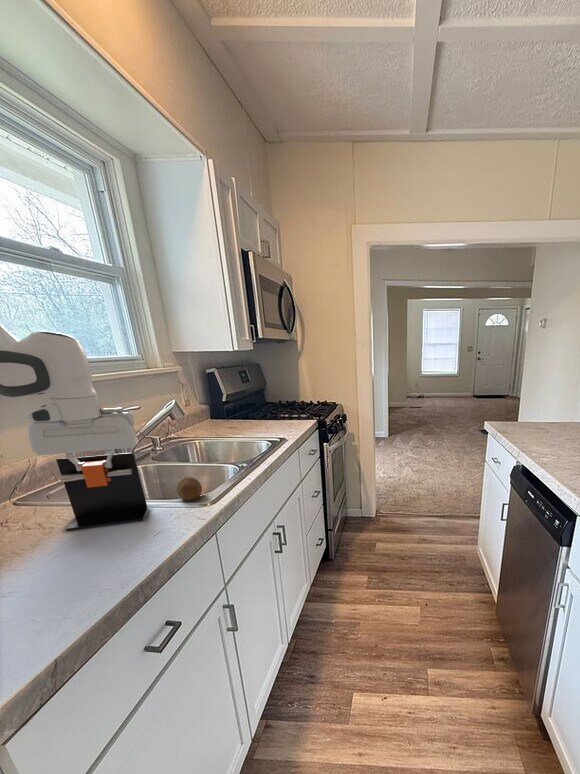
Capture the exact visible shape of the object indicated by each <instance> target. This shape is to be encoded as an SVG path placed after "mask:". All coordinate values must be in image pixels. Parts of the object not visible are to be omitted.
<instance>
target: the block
mask: <svg viewBox="0 0 580 774" xmlns="http://www.w3.org/2000/svg"><path fill="white" fill-rule="evenodd" d="M102 461H103V460H102ZM102 461H90V462H85V463H84V464H83V465H82V466H81V468H82V471H83V475H84V478H85V481H86V484H87V487H88V488H89V487H98V486H107V485H108V484H107V482H108V481H111V478H106V477H105V474H104V471H108V469H104V467H103V466H104V465H103V464H102Z"/></svg>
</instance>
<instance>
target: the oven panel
mask: <svg viewBox="0 0 580 774" xmlns="http://www.w3.org/2000/svg"><path fill="white" fill-rule="evenodd" d="M75 457H76V458H77V459H78V460H79V461H80V462H90V461H102V460H107V457H108V454H99V455H87V456H75ZM55 460H56V463H57V464H56V465H57V466H58V470H59V472H60V475H59V479H60V480H59V481H60V482H61V483H63V484H64V487H65V491H66V494H67V497H68V500H69V503H70V507H71V509H72V512H73V515H74V519H73V520H72V521H71V522H70V523H69V524H68V526H67V527H66V528H65V530H66V532H68V531H69V532H71V531H77V530H84V529H93V528H100V527H101V528H102V527H106V526H107V527H108V526H115V525H122V524H123V525H124V524H130V523H137V522H143V521H145V518H146V516H147V514H148V512H149V507H148V504H147V499H146V495H145V492H144V488H143V485H142V480H141V476H140V472H139V468H138V465H137V461H136V456H135V452H121V453H114V454H113V456H112V459H111V463H112V468H108V471H104V474H105V477H106V478H111V481H108V482H107V484H108V485H107V486H98V487H89V488H88V487H87V484H86V481H85V478H84V475H83V471H77V469H76V466H75V464H73V463H72V462H71V461H70V460H69V459H68V458H67V457H60V458H56V459H55Z"/></svg>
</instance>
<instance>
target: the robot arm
mask: <svg viewBox="0 0 580 774" xmlns="http://www.w3.org/2000/svg"><path fill="white" fill-rule="evenodd" d="M92 373H93V372H92V370H91V367H90V364H89V360H88V357H87V355H86V352H85V350H84V347H83V346H82V343H81V342H80V341H79V340H78V339H77V338H76V337H74V336H72V335H70V334H68V333H62V332H56V331H49V330H43V329H37V330H33V331H31V333H29V335H28V336H26V337H24V338H22V339H19V338H18V337H17V336H15V335H14V334H13V333H12V332H11V331H10V330H8V329H7V328H6V327H5V326H4V325H3V324H2V323H1V322H0V395H1V396H4V397H8V398H17V399H21V398H27V397H31V396H32V397H33V396H35V395H37V396H38V395H45V394H46V395H47V397H48V401H49V404H44V405H41V406H40V407H38V408H35V409H32V410H30V411H28V412H26V414H25V417H26V419H27V421H28V422H30V424H29V425H28V426H27V435H28V440H29V445H30V447H31V450H32V451H33V452H34V453H35V454H36V455H38V456H48V455H61V454H65V458H68V459H69V460H70V461H71V462H72V463H73V464H75V466H76V469H77V471H82V468H81V466H82V465H83V464H84V463H85V462H80V461H79V460H78V459H77V458H76V457H77V453H84V452H97V451H99V452H100V451H104V455H108V457H107V460H103V461H102V464H103V465H104V466H103V467H104V469H108V468H112V463H111V459H112V456H113V454H115V450H121V449H133V448H135V447H136V446H137V445H138V443H139V439H138V435H137V432H136V430H135V427H134V425H135V420H134V416H133V414H132V412H131V411H129V410H128V409H124V407H116V408H110V407H109V408H102V407H101V402H100V399H99V396H98V393H97V391H96V389H95V388H94V385H93V381H92V380H93V374H92Z"/></svg>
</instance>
